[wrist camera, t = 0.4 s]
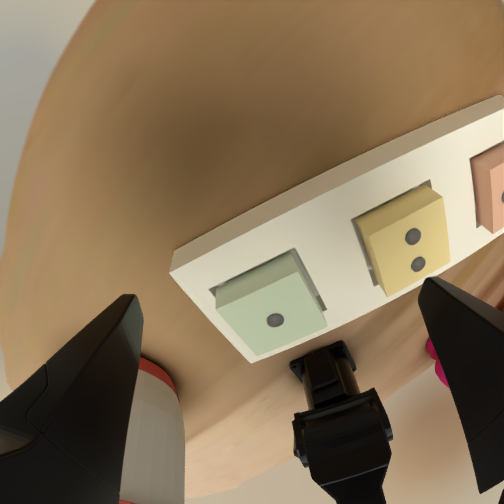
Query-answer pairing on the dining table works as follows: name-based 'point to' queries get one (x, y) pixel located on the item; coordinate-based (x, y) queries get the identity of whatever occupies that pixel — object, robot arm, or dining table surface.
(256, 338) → the tile
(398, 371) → the dining table surface
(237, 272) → the rail
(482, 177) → the three-pip tile
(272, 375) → the dining table surface
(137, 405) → the citrus juicer
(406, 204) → the tile
